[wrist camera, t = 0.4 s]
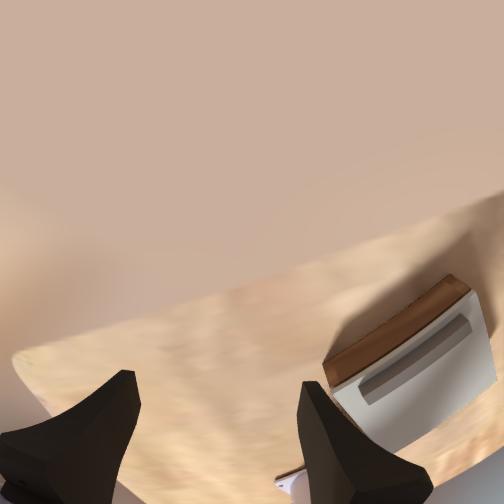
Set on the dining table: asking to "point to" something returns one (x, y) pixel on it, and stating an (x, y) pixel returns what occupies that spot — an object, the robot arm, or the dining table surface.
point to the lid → (423, 378)
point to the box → (395, 331)
